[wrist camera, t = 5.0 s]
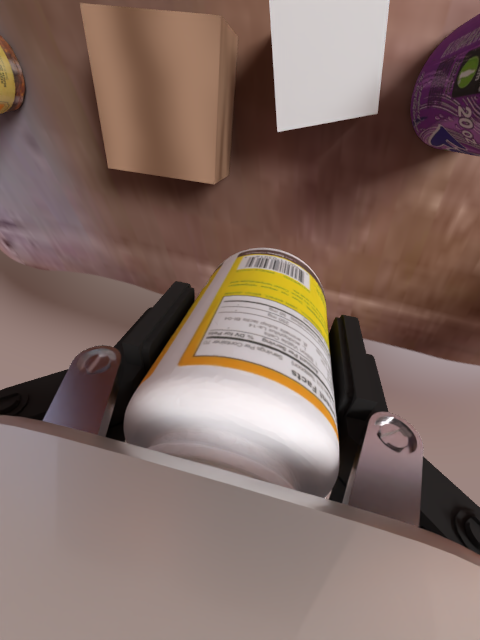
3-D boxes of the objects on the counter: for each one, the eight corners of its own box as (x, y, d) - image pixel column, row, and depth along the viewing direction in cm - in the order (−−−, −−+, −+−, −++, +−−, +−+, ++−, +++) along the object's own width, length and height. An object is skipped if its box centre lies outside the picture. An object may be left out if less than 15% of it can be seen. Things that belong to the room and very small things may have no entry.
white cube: (370, 3, 18) (394, -43, 13) (361, 116, 21) (377, 113, 16) (278, 28, 19) (269, -4, 14) (283, 130, 22) (277, 132, 18)
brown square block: (238, 37, 20) (220, 15, 16) (229, 174, 25) (214, 184, 21) (123, 26, 21) (79, 2, 17) (138, 161, 26) (108, 168, 22)
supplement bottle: (240, 351, 15) (162, 601, 7) (190, 268, 13) (-11, 504, 5) (340, 328, 13) (386, 655, 5) (303, 221, 11) (275, 523, 3)
